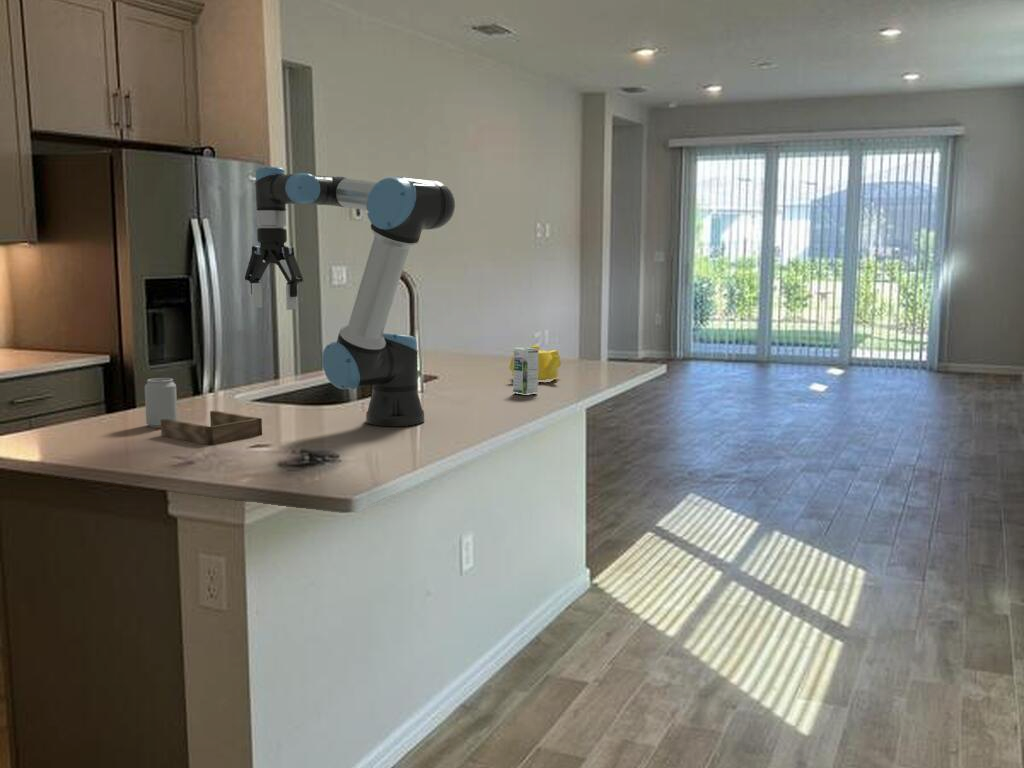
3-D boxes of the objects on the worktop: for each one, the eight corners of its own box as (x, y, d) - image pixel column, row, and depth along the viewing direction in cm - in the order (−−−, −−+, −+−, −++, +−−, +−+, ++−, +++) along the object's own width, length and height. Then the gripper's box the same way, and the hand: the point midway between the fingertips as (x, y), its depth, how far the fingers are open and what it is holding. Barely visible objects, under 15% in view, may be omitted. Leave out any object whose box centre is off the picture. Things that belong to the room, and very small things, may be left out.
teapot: (560, 378, 337) (561, 343, 336) (559, 384, 321) (559, 349, 319) (512, 377, 339) (512, 343, 337) (508, 383, 322) (508, 348, 320)
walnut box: (262, 434, 234) (261, 418, 234) (208, 445, 222) (208, 427, 221) (214, 426, 245) (214, 410, 244) (161, 435, 232) (160, 419, 232)
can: (167, 421, 250) (165, 376, 249) (183, 425, 246) (181, 378, 244) (140, 426, 244) (138, 379, 243) (156, 429, 240) (154, 381, 238)
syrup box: (512, 394, 300) (512, 347, 298) (526, 392, 304) (526, 346, 302) (524, 396, 295) (525, 349, 293) (538, 394, 299) (539, 347, 297)
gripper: (315, 227, 250) (317, 309, 253) (252, 228, 264) (254, 305, 267) (293, 227, 244) (295, 311, 247) (229, 227, 258) (232, 307, 261)
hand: (274, 308), depth 257 cm, fingers open, 13 cm apart
